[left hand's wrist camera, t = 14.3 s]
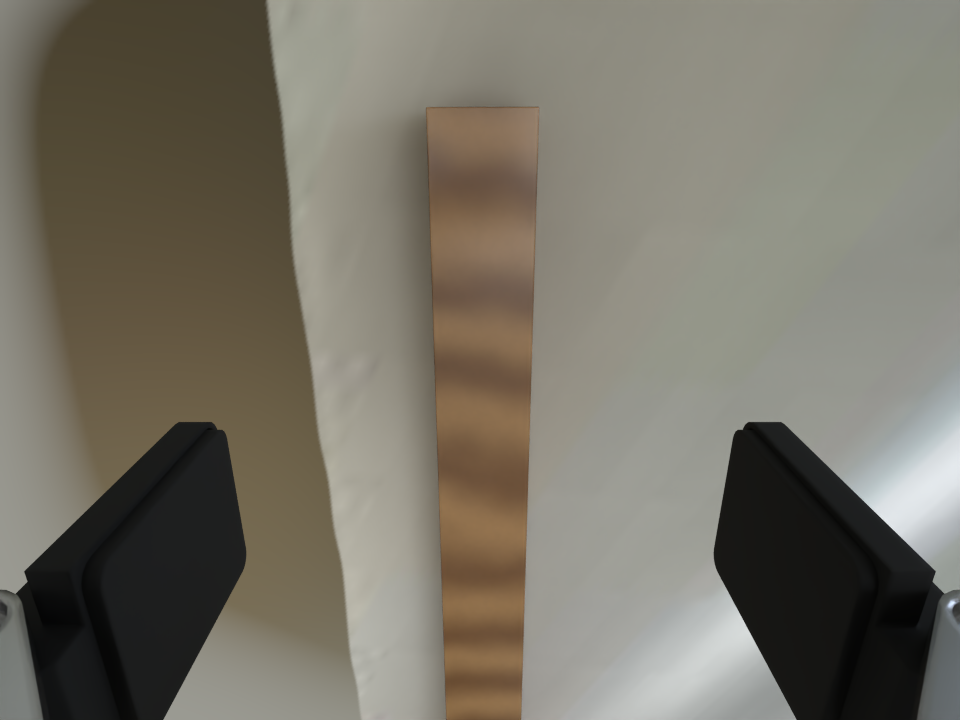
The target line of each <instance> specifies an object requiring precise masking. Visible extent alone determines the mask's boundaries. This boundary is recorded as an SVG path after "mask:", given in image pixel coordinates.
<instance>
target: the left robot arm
mask: <svg viewBox="0 0 960 720" xmlns="http://www.w3.org/2000/svg"><path fill="white" fill-rule="evenodd" d="M245 562H246V546H245V541H244V535H243V529H242V523H241V517H240V512H239V506H238V500H237V494H236V488H235V482H234V477H233V471H232V465H231V459H230V454H229V448H228V442H227V437H226V434H225V432H224V431H223V430H217V428H216V426H215V425H214V424H213V423H212V422H178V423H177V424H175V425H174V426H173V427H172V428H171V429H170V430H169V431H168V432H167V433H166V434H165V435H164V436H163V437H162V438H161V439H160V440H159V441H158V442H157V443H156V444H155V445H154V446H153V447H152V448H151V449H150V450H149V451H148V452H147V453H146V454H144V455H143V456H142V457H141V458H140V459H139V460H138V461H137V462H136V463H135V464H134V465H133V466H132V467H131V468H130V469H129V470H128V471H127V472H126V473H125V474H124V475H123V476H122V477H121V478H120V479H119V480H118V481H117V482H116V483H115V484H114V485H113V486H112V487H111V488H110V489H109V490H107V491H106V492H105V493H104V494H103V495H102V496H101V497H100V498H99V499H98V500H97V501H96V502H95V503H94V504H93V505H92V506H91V507H90V508H89V509H88V510H87V511H86V512H85V513H84V514H83V515H82V516H81V517H80V518H79V519H78V520H77V521H76V522H75V523H74V524H73V525H72V526H70V527H69V528H68V529H67V530H66V531H65V532H64V533H63V534H62V535H61V536H60V537H59V538H58V539H57V540H56V541H55V542H54V543H53V544H52V545H51V546H50V547H49V548H48V549H47V550H46V551H45V552H44V553H43V554H42V555H41V556H40V557H39V558H38V559H37V560H36V561H35V562H34V563H32V564H31V565H30V566H29V567H28V568H27V569H26V570H25V575H26V578H27V581H28V582H27V583H26V584H25V585H24V586H23V587H22V588H21V589H20V590H19V591H18V592H17V593H16V594H14V593H12V592H10V591H7V590H0V720H163V719H164V717H165V715H166V714H167V712H168V710H169V708H170V706H171V704H172V702H173V701H174V699H175V697H176V695H177V693H178V691H179V689H180V687H181V686H182V684H183V682H184V680H185V678H186V676H187V674H188V672H189V671H190V669H191V667H192V665H193V663H194V661H195V659H196V657H197V656H198V654H199V652H200V650H201V648H202V646H203V644H204V643H205V641H206V639H207V637H208V635H209V633H210V631H211V630H212V628H213V626H214V624H215V622H216V620H217V618H218V616H219V615H220V613H221V611H222V609H223V607H224V605H225V603H226V602H227V600H228V598H229V596H230V594H231V592H232V590H233V588H234V587H235V585H236V583H237V581H238V579H239V577H240V575H241V573H242V572H243V569H244V566H245ZM714 562H715V566H716V569H717V572H718V573H719V575H720V577H721V579H722V581H723V583H724V585H725V587H726V588H727V590H728V592H729V594H730V596H731V598H732V600H733V602H734V603H735V605H736V607H737V609H738V611H739V613H740V615H741V616H742V618H743V620H744V622H745V624H746V626H747V628H748V630H749V631H750V633H751V635H752V637H753V639H754V641H755V643H756V644H757V646H758V648H759V650H760V652H761V654H762V656H763V658H764V659H765V661H766V663H767V665H768V667H769V669H770V671H771V672H772V674H773V676H774V678H775V680H776V682H777V684H778V686H779V687H780V689H781V691H782V693H783V695H784V697H785V699H786V701H787V702H788V704H789V706H790V708H791V710H792V712H793V714H794V715H795V717H796V719H797V720H960V590H953V591H950V592H948V593H946V594H944V593H943V592H942V591H941V590H940V589H939V588H938V587H937V586H936V585H935V584H934V583H933V582H932V581H933V578H934V575H935V572H936V571H935V570H934V569H933V568H932V567H931V566H930V565H929V564H928V563H927V562H925V561H924V560H923V559H922V558H921V557H920V556H919V555H918V554H917V553H916V552H915V551H914V550H913V549H912V548H911V547H910V546H909V545H908V544H907V543H906V542H905V541H904V540H903V539H902V538H901V537H900V536H899V535H898V534H897V533H896V532H895V531H894V530H893V529H892V528H891V527H890V526H888V525H887V524H886V523H885V522H884V521H883V520H882V519H881V518H880V517H879V516H878V515H877V514H876V513H875V512H874V511H873V510H872V509H871V508H870V507H869V506H868V505H867V504H866V503H865V502H864V501H863V500H862V499H861V498H860V497H859V496H858V495H857V494H856V493H855V492H854V491H853V490H851V489H850V488H849V487H848V486H847V485H846V484H845V483H844V482H843V481H842V480H841V479H840V478H839V477H838V476H837V475H836V474H835V473H834V472H833V471H832V470H831V469H830V468H829V467H828V466H827V465H826V464H825V463H824V462H823V461H822V460H821V459H820V458H819V457H818V456H817V455H816V454H814V453H813V452H812V451H811V450H810V449H809V448H808V447H807V446H806V445H805V444H804V443H803V442H802V441H801V440H800V439H799V438H798V437H797V436H796V435H795V434H794V433H793V432H792V431H791V430H790V429H789V428H788V427H787V426H786V425H785V424H783V423H782V422H748V423H747V424H746V425H745V426H744V428H743V430H737V431H736V432H735V434H734V437H733V442H732V448H731V453H730V459H729V465H728V471H727V477H726V482H725V488H724V494H723V500H722V506H721V512H720V517H719V523H718V529H717V535H716V541H715V546H714Z"/></svg>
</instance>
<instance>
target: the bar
mask: <svg viewBox="0 0 960 720" xmlns="http://www.w3.org/2000/svg"><path fill="white" fill-rule="evenodd" d="M426 121H427V151H428V181H429V212H430V242H431V272H432V302H433V332H434V362H435V392H436V422H437V452H438V482H439V512H440V542H441V573H442V603H443V633H444V663H445V693H446V720H521V703H522V670H523V636H524V602H525V568H526V535H527V501H528V467H529V433H530V400H531V366H532V332H533V298H534V265H535V231H536V197H537V163H538V130H539V107H427V108H426Z"/></svg>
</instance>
